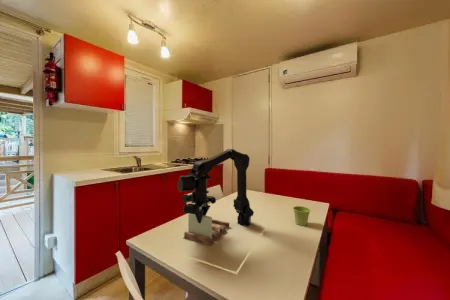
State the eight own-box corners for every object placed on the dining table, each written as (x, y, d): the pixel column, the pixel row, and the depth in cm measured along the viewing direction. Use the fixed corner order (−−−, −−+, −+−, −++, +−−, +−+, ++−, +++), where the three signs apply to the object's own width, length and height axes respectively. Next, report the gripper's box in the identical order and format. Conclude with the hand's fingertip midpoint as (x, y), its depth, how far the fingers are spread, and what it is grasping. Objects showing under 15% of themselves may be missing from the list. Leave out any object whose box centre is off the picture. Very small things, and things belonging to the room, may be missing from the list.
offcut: (219, 234, 92) (220, 225, 92) (217, 236, 90) (217, 227, 90) (211, 231, 94) (211, 223, 94) (208, 233, 92) (208, 225, 92)
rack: (230, 228, 99) (230, 222, 99) (210, 248, 81) (210, 240, 81) (206, 223, 106) (206, 217, 106) (182, 239, 87) (182, 232, 87)
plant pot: (312, 228, 101) (312, 212, 101) (293, 226, 103) (294, 211, 103) (308, 221, 110) (308, 206, 110) (291, 219, 112) (291, 205, 112)
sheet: (211, 238, 85) (212, 217, 85) (210, 240, 84) (210, 218, 84) (190, 232, 91) (190, 212, 90) (188, 234, 89) (188, 213, 89)
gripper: (197, 183, 98) (197, 212, 99) (173, 191, 82) (173, 226, 82) (216, 185, 93) (216, 216, 94) (194, 194, 77) (194, 232, 77)
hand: (200, 222), depth 87 cm, fingers closed on sheet, 2 cm apart
